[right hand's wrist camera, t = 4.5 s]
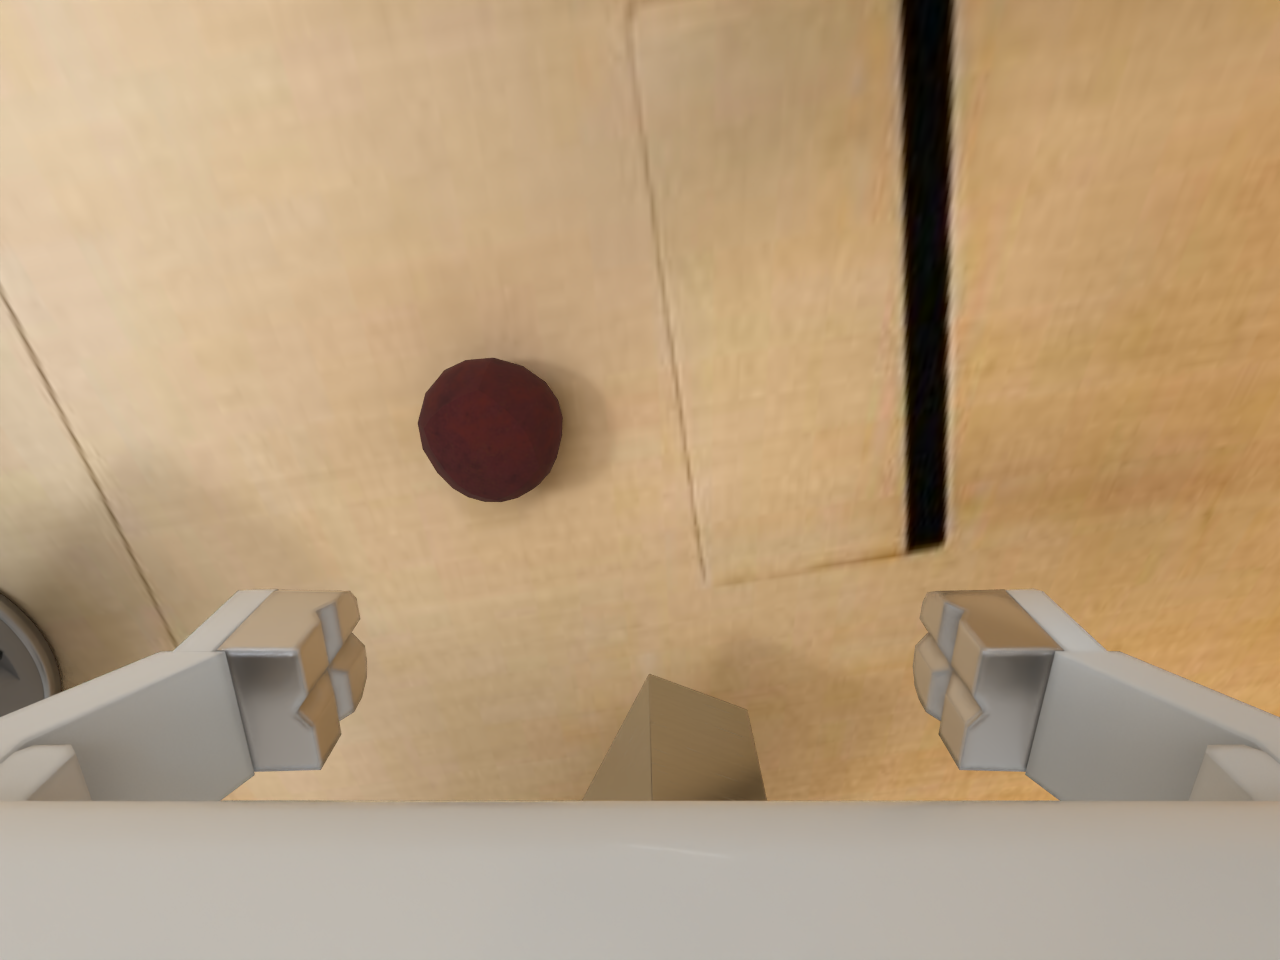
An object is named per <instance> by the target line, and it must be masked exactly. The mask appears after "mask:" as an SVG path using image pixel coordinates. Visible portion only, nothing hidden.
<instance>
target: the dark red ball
mask: <svg viewBox="0 0 1280 960" xmlns="http://www.w3.org/2000/svg"><path fill="white" fill-rule="evenodd" d="M418 426H419V432H420V437H421V442H422V447H423V450H424V452H425V453H426V455H427V457H428V458H429V460H430V461H431V463H432V465H433V466H434V468H435V470H436V471H437V473H438V474H439V475H440V476H441V477H442V478H443V479H444V480H445V481H446V482H447V483H448V484H449V485H450V486H451V487H452V488H453V489H455V490H457V491H459V492H460V493H462V494H464V495H465V496H467V497H469V498H473V499H477V500H480V501H484V502H503V501H507V500H511V499H514V498H518V497H520V496H522V495H523V494H525V493H527V492H529V491H530V490H532V489H533V488H535V487H536V486H537V485H539V484H540V483H541V481H542V480H543V479H544V478H545V477H546V476H547V475H548V474H549V473H550V471H551V469H552V466H553V464H554V462H555V460H556V458H557V454H558V450H559V445H560V441H561V437H562V414H561V410H560V406H559V402H558V399H557V398H556V397H555V395H554V394H553V392H552V391H551V389H550V388H549V386H548V385H547V384H546V382H544V381H543V380H542V379H540V378H539V377H537V376H536V375H535V374H533V373H532V372H530V371H529V370H527V369H526V368H525V367H523V366H520V365H517V364H513V363H510V362H506V361H503V360H500V359H496V358H486V359H474V360H465V361H463V362H461V363H459V364H457V365H455V366H453V367H450V368H448V369H446V370H444V371H443V373H442V374H441V375H440V377H439V378H438V379H437V380H436V381H435V383H434V384H433V385H432V386H431V387H430V389H429V390H428V391H427V392H426V394H425V397H424V401H423V405H422V409H421V413H420V417H419V421H418Z"/></svg>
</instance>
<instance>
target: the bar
mask: <svg viewBox="0 0 1280 960" xmlns="http://www.w3.org/2000/svg"><path fill="white" fill-rule="evenodd" d="M582 801H767V798H766V793H765V789H764V784H763V780H762V775H761V771H760V766H759V761H758V757H757V752H756V748H755V743H754V738H753V734H752V729H751V725H750V720H749V716H748V711H747V710H746V709H744V708H741V707H739V706H736V705H733V704H730V703H728V702H725V701H722V700H720V699H717V698H714V697H711V696H709V695H706V694H703V693H700V692H698V691H695V690H692V689H690V688H687V687H684V686H681V685H679V684H676V683H673V682H671V681H668V680H665V679H662V678H660V677H657V676H654V675H652V674H649V675H648V677H647V678H646V680H645V682H644V684H643V686H642V688H641V690H640V692H639V694H638V695H637V697H636V699H635V701H634V703H633V705H632V707H631V709H630V711H629V713H628V714H627V716H626V718H625V720H624V722H623V724H622V726H621V728H620V730H619V731H618V733H617V735H616V737H615V739H614V741H613V743H612V745H611V747H610V749H609V750H608V752H607V754H606V756H605V758H604V760H603V762H602V764H601V766H600V767H599V769H598V771H597V773H596V775H595V777H594V779H593V781H592V783H591V785H590V786H589V788H588V790H587V792H586V794H585V796H584V798H583V800H582Z"/></svg>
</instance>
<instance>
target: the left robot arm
mask: <svg viewBox="0 0 1280 960" xmlns="http://www.w3.org/2000/svg"><path fill="white" fill-rule="evenodd" d="M60 692H61V681H60V674H59V670H58V666H57V663H56V660H55V658H54V655H53V653H52V651H51V649H50V647H49V645H48V643H47V642H46V640H45V638H44V637H43V635H42V634H41V632H40V631H39V630H38V628H37V627H36V626H35V625H34V623H33V622H32V621H31V620H30V619H29V618H28V617H27V616H26V615H25V614H24V613H23V612H22V611H21V610H20V609H19V608H18V607H17V606H16V605H15V604H14V603H12V602H11V601H10V600H9V599H7V598H6V597H5V596H3V595H2V594H1V593H0V717H2V716H4V715H7V714H9V713H12V712H14V711H17V710H19V709H21V708H24V707H26V706H29V705H31V704H34V703H36V702H38V701H41V700H43V699H46V698H48V697H51V696H53V695H56V694H58V693H60Z"/></svg>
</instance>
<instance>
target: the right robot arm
mask: <svg viewBox="0 0 1280 960" xmlns="http://www.w3.org/2000/svg"><path fill="white" fill-rule="evenodd" d="M359 620H360V615H359V610H358V605H357V600H356V597H355V596H354V595H353V594H352V593H351V592H350V591H329V590H278V589H253V590H240V591H237V592H236V593H235V594H234V595H233V596H232V597H231V598H230V599H228V600H227V601H226V602H225V603H224V604H223V605H222V606H221V607H220V608H219V609H218V610H217V611H215V612H214V613H213V614H212V615H211V616H210V617H209V618H208V619H207V620H206V621H205V622H204V623H203V624H201V625H200V626H199V627H198V628H197V629H196V630H195V631H194V632H193V633H192V634H191V635H190V636H188V637H187V638H186V639H185V640H184V641H183V642H182V643H181V644H180V645H179V646H178V647H177V648H175V649H174V650H173V651H160V652H158V653H155V654H153V655H151V656H148V657H146V658H143V659H141V660H138V661H136V662H133V663H131V664H129V665H126V666H124V667H121V668H119V669H116V670H114V671H112V672H109V673H107V674H104V675H102V676H99V677H97V678H95V679H92V680H90V681H87V682H85V683H82V684H80V685H77V686H75V687H73V688H70V689H68V690H65V691H63V692H60V693H58V694H56V695H53V696H51V697H48V698H46V699H43V700H41V701H38V702H36V703H34V704H31V705H29V706H26V707H24V708H21V709H19V710H17V711H14V712H12V713H9V714H7V715H4V716H2V717H0V960H1280V717H1278V716H1275V715H1273V714H1270V713H1268V712H1265V711H1263V710H1261V709H1258V708H1256V707H1253V706H1251V705H1248V704H1246V703H1244V702H1241V701H1239V700H1236V699H1234V698H1231V697H1229V696H1227V695H1224V694H1222V693H1219V692H1217V691H1214V690H1212V689H1210V688H1207V687H1205V686H1202V685H1200V684H1197V683H1195V682H1193V681H1190V680H1188V679H1185V678H1183V677H1180V676H1178V675H1176V674H1173V673H1171V672H1168V671H1166V670H1163V669H1161V668H1159V667H1156V666H1154V665H1151V664H1149V663H1146V662H1144V661H1142V660H1139V659H1137V658H1134V657H1132V656H1129V655H1127V654H1125V653H1122V652H1120V651H1107V650H1106V649H1105V648H1104V647H1102V646H1101V645H1100V644H1099V643H1098V642H1097V641H1096V640H1095V639H1094V638H1093V637H1092V636H1091V635H1089V634H1088V633H1087V632H1086V631H1085V630H1084V629H1083V628H1082V627H1081V626H1080V625H1079V624H1078V623H1077V622H1075V621H1074V620H1073V619H1072V618H1071V617H1070V616H1069V615H1068V614H1067V613H1066V612H1065V611H1064V610H1063V609H1061V608H1060V607H1059V606H1058V605H1057V604H1056V603H1055V602H1054V601H1053V600H1052V599H1051V598H1050V597H1049V596H1047V595H1046V594H1045V593H1044V592H1043V591H1040V590H1036V589H1015V590H966V591H934V592H927V594H926V596H925V598H924V601H923V603H922V608H921V614H920V620H921V622H922V623H923V625H924V626H925V628H926V629H927V631H928V633H927V634H926V635H925V636H924V637H923V638H922V639H921V640H920V641H919V642H918V644H917V645H916V646H915V652H914V661H913V674H914V684H915V688H916V691H917V695H918V698H919V700H920V702H921V704H922V706H923V708H924V709H925V711H926V712H927V713H928V714H930V715H932V716H933V717H935V718H936V719H938V720H940V721H941V724H940V729H939V736H940V737H941V739H942V741H943V743H944V744H945V746H946V748H947V749H948V751H949V753H950V754H951V756H952V758H953V760H954V761H955V763H956V765H957V766H958V768H959V770H984V771H1021V772H1026V773H1025V775H1027V776H1028V777H1029V778H1031V779H1032V780H1033V781H1035V782H1036V783H1037V784H1039V785H1040V786H1041V787H1043V788H1044V789H1045V790H1047V791H1048V792H1049V793H1050V794H1052V795H1053V796H1054V797H1056V798H1057V799H1058V800H1060V801H220V800H222V799H223V798H224V797H226V796H227V795H228V794H230V793H231V792H232V791H234V790H235V789H236V788H238V787H239V786H240V785H242V784H243V783H244V782H246V781H247V780H248V779H250V778H251V777H252V776H254V772H259V771H295V770H321V768H322V767H323V765H324V763H325V761H326V760H327V758H328V756H329V755H330V753H331V751H332V749H333V748H334V746H335V744H336V743H337V741H338V739H339V737H340V736H341V729H340V724H339V721H340V720H342V719H344V718H345V717H347V716H348V715H350V714H352V713H353V712H354V711H355V709H356V707H357V706H358V704H359V702H360V700H361V698H362V695H363V691H364V687H365V682H366V678H367V658H366V651H365V646H364V645H363V644H362V642H361V641H360V640H359V639H358V638H357V637H356V636H355V635H354V634H353V633H352V631H353V629H354V628H355V626H356V625H357V623H358V622H359Z"/></svg>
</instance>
